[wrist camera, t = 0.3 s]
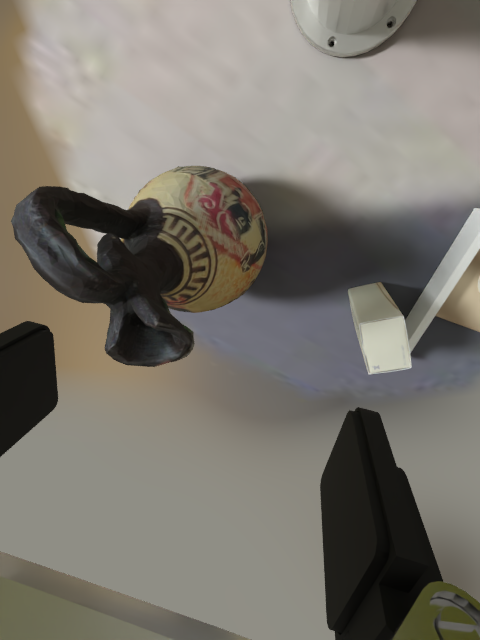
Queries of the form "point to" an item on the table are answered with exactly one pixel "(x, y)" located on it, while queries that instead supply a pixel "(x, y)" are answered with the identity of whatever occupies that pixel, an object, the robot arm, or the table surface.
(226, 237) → the ceramic jug
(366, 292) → the skincare box
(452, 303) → the cork pad
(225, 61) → the table surface
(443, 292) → the acrylic wall
